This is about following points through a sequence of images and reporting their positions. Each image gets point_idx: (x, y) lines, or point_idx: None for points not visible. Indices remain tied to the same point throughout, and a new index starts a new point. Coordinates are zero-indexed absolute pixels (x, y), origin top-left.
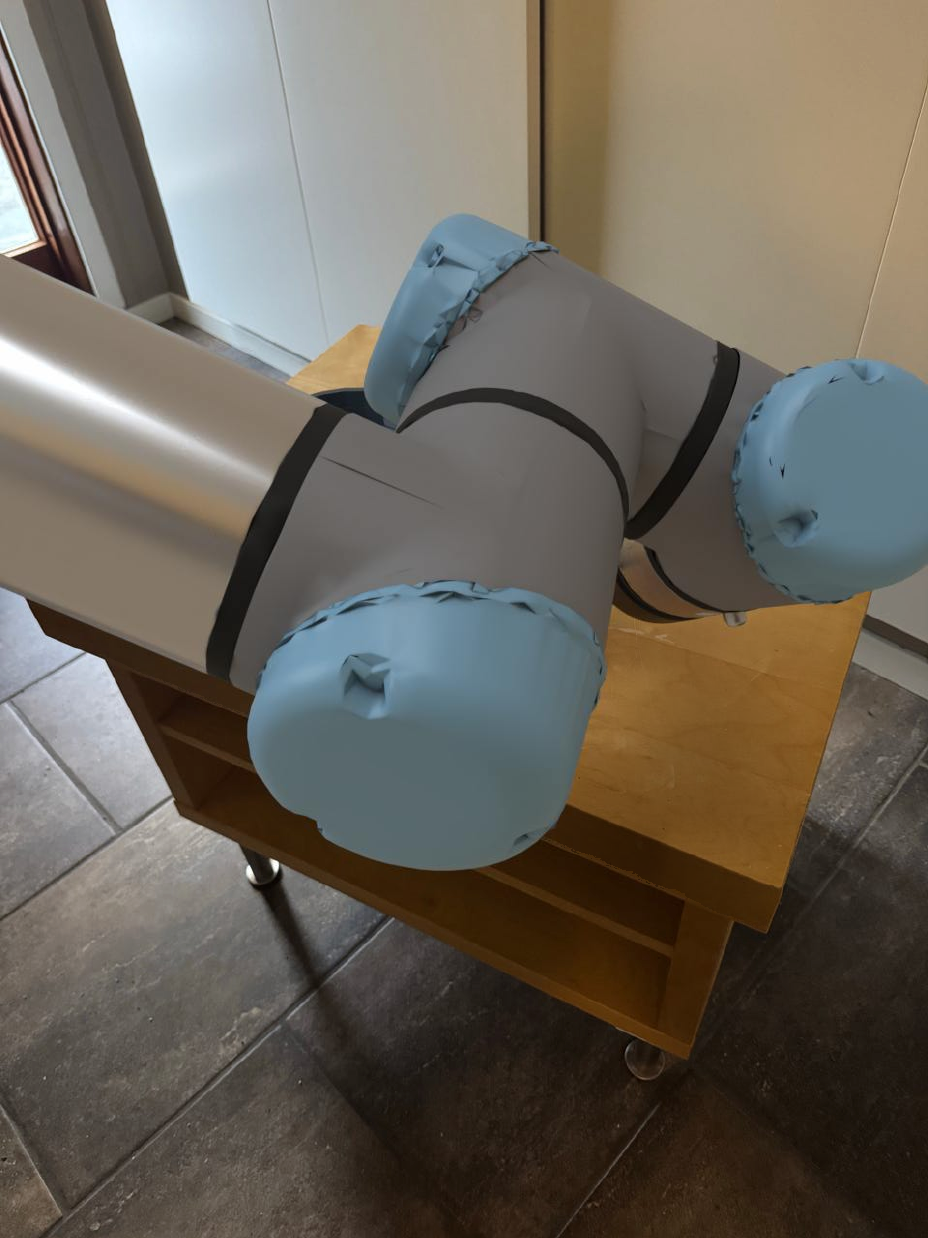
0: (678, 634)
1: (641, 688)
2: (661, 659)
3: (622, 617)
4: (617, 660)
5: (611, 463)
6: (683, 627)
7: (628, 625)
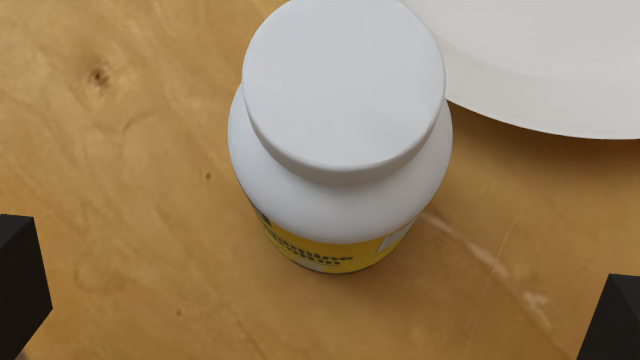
0: (569, 309)
1: None
2: (508, 355)
3: (488, 219)
4: (428, 317)
5: None
6: (587, 297)
7: (489, 243)
